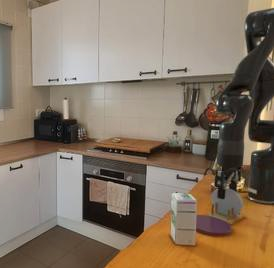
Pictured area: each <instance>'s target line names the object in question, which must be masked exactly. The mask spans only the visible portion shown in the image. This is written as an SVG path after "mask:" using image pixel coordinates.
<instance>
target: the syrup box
mask: <svg viewBox="0 0 274 268" xmlns="http://www.w3.org/2000/svg"><path fill="white" fill-rule="evenodd" d="M170 207H171V208H170V237H171V239H172V240H173V242H174V244H175V245H181V246H196V238H197V231H196V215H198V214H197V210H198V209H197V208H198V200H197V199H196V198H195V197H194V196H193V195H192V194H191V193H189V192H187V193H186V192H172V193H171V202H170Z"/></svg>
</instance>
